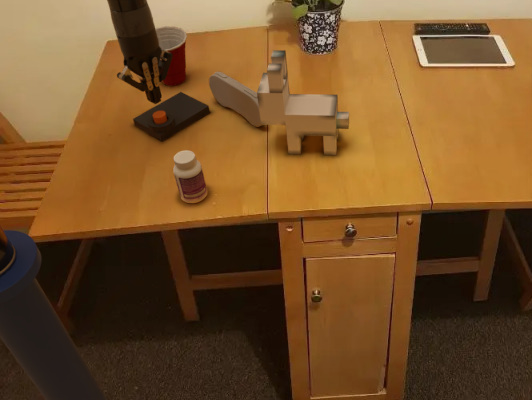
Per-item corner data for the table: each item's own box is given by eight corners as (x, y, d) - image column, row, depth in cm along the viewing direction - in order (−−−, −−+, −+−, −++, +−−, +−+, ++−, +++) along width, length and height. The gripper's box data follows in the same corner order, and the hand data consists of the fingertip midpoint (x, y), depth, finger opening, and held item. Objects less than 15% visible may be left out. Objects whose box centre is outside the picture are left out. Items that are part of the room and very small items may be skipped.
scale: (161, 143, 127) (158, 130, 125) (133, 126, 132) (129, 113, 130) (211, 113, 135) (208, 100, 132) (182, 98, 140) (179, 85, 137)
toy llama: (348, 155, 121) (346, 70, 107) (265, 153, 123) (253, 70, 109) (350, 134, 126) (349, 50, 113) (270, 132, 128) (260, 50, 115)
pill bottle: (213, 191, 115) (204, 153, 108) (195, 207, 111) (185, 169, 105) (193, 182, 117) (183, 144, 110) (174, 198, 114) (163, 159, 107)
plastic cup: (150, 94, 142) (137, 49, 134) (155, 71, 150) (143, 28, 141) (194, 90, 142) (184, 45, 134) (197, 67, 150) (188, 24, 142)
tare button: (159, 126, 126) (157, 119, 125) (151, 121, 128) (149, 114, 126) (169, 120, 128) (168, 113, 127) (162, 115, 129) (160, 109, 128)
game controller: (271, 128, 129) (267, 96, 124) (263, 132, 128) (259, 101, 122) (219, 95, 140) (213, 65, 134) (211, 99, 139) (205, 68, 133)
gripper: (150, 8, 118) (168, 82, 130) (94, 34, 111) (119, 109, 123) (173, 18, 114) (190, 93, 126) (117, 45, 107) (141, 122, 119)
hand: (155, 101), depth 124 cm, fingers closed
